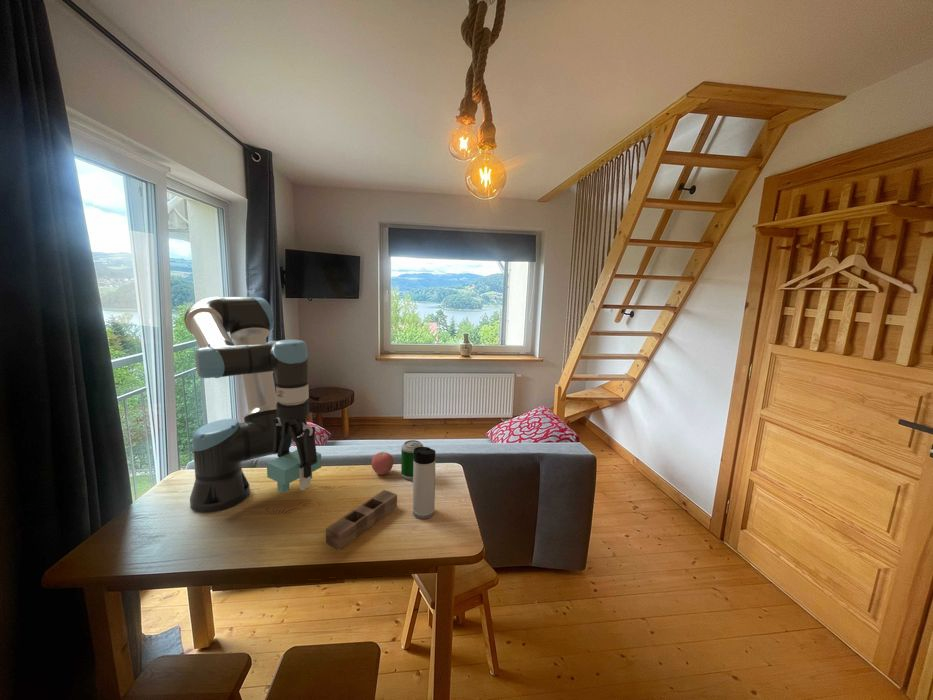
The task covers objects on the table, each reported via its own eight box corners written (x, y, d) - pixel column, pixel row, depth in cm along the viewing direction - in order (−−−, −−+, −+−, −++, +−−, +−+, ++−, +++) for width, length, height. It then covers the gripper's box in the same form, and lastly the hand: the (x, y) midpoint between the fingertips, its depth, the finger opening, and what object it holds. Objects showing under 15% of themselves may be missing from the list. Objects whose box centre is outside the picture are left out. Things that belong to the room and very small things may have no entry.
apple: (367, 475, 130) (367, 453, 129) (379, 466, 137) (379, 445, 136) (385, 480, 128) (385, 458, 126) (397, 470, 134) (397, 449, 133)
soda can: (418, 482, 127) (419, 449, 125) (397, 479, 128) (398, 446, 126) (425, 472, 134) (426, 440, 132) (405, 469, 136) (406, 438, 134)
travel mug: (407, 513, 110) (408, 448, 106) (424, 504, 114) (425, 442, 111) (421, 522, 105) (422, 455, 102) (438, 513, 110) (440, 448, 107)
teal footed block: (267, 489, 97) (266, 462, 96) (304, 471, 106) (303, 447, 105) (285, 498, 94) (284, 470, 92) (321, 479, 103) (321, 453, 102)
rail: (326, 542, 96) (325, 528, 95) (384, 501, 115) (384, 489, 114) (340, 549, 93) (339, 535, 93) (396, 506, 112) (397, 494, 112)
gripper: (254, 396, 97) (258, 478, 101) (306, 412, 88) (309, 502, 92) (280, 390, 104) (284, 467, 108) (331, 404, 94) (333, 488, 99)
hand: (295, 483), depth 100 cm, fingers closed on teal footed block, 7 cm apart
